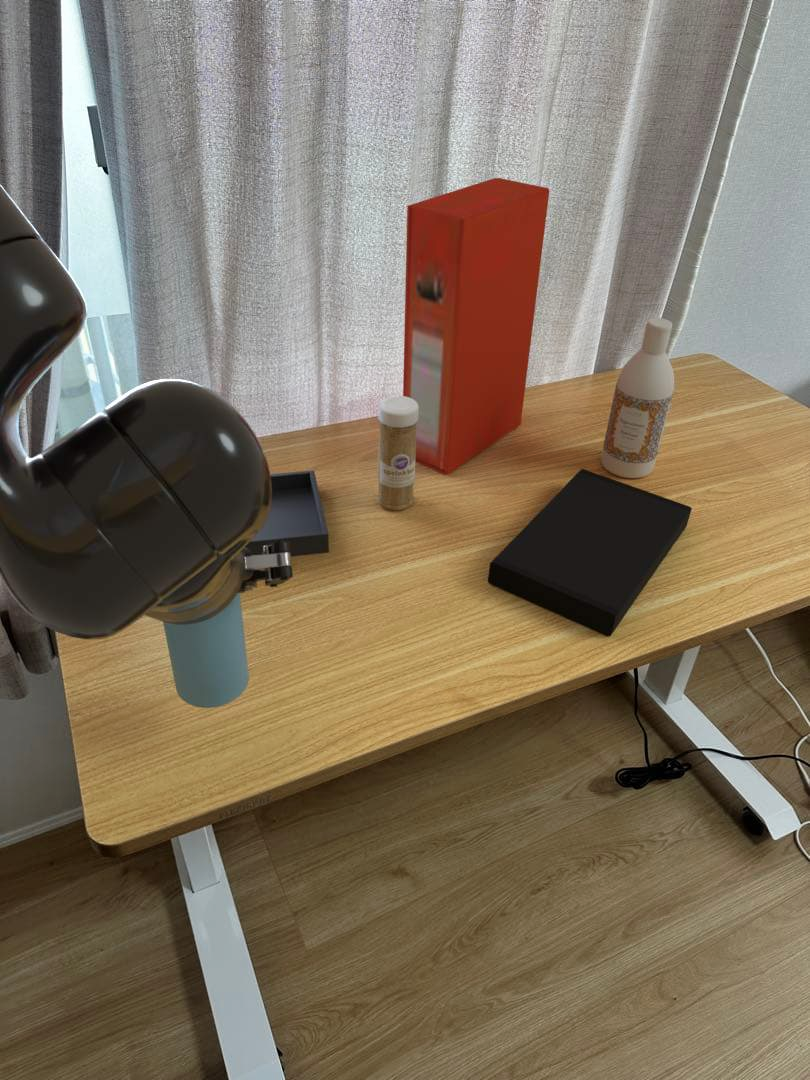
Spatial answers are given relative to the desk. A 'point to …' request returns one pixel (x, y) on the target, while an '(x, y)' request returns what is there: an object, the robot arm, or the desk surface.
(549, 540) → the external hard drive
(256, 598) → the desk surface
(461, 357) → the file binder
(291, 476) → the tray
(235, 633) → the bottle
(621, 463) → the bath foam
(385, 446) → the sprinkles bottle
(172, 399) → the robot arm
